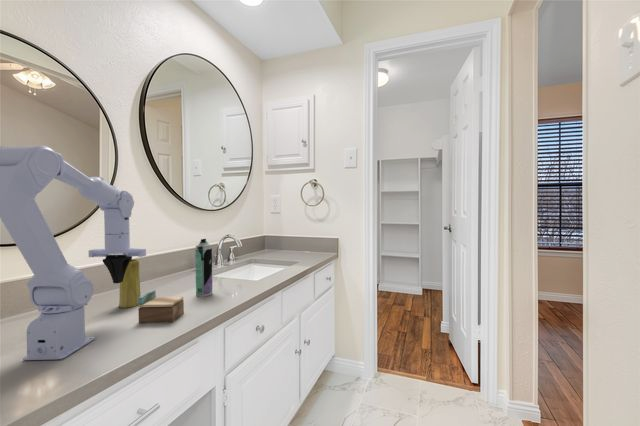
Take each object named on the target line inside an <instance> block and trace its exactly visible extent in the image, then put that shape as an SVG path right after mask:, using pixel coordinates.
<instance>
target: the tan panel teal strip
mask: <svg viewBox="0 0 640 426" xmlns="http://www.w3.org/2000/svg"><path fill="white" fill-rule="evenodd" d="M181 300H184V296H156V290H155V289H152V290H150V291H148V292H146V293H144V294H143V295H141V296H140V297H139V298H138V305H137V307H138V308H140V307H172V306H174V305H175V304H177V303H178V302H179V301H181Z"/></svg>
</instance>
